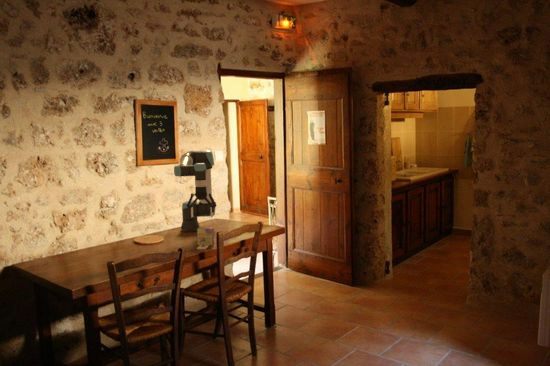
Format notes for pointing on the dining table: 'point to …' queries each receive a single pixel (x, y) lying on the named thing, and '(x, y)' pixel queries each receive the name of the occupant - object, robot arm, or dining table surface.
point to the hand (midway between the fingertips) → (202, 217)
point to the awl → (202, 239)
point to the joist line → (202, 247)
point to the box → (206, 235)
